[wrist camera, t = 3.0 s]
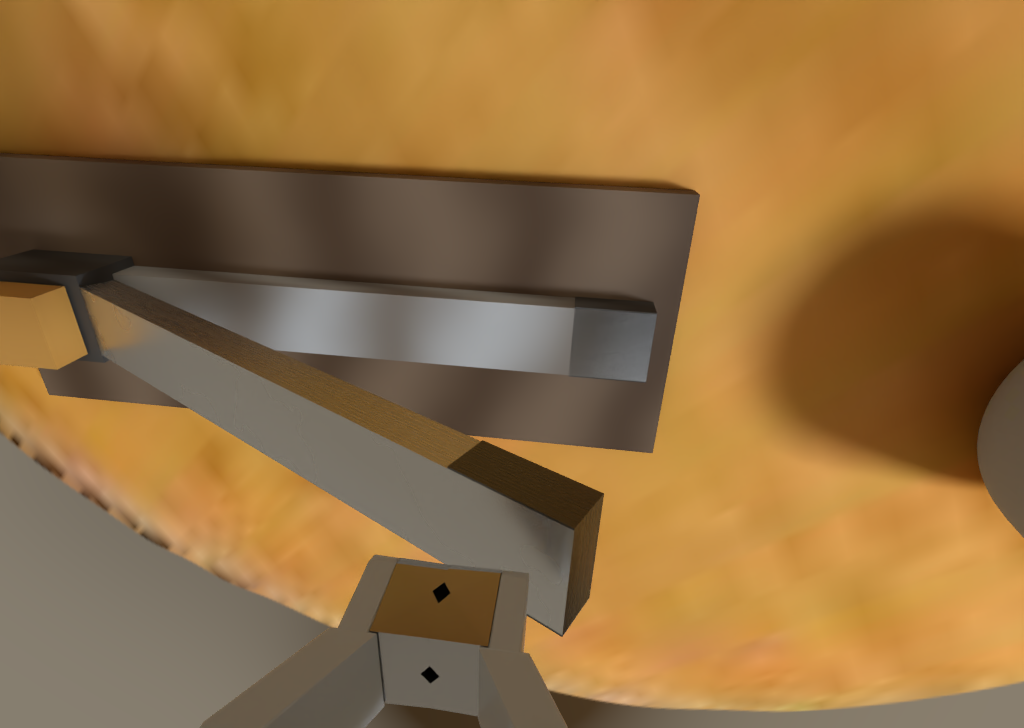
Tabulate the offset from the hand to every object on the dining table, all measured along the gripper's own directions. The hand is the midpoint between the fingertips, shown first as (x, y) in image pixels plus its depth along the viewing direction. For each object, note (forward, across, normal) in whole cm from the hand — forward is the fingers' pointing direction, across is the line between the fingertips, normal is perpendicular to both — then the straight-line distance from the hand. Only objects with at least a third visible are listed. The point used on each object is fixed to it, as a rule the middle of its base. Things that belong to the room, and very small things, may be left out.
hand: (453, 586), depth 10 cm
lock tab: (+10, +19, 0) cm, 22 cm away
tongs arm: (+6, +7, 0) cm, 9 cm away
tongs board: (+14, +8, 0) cm, 16 cm away
